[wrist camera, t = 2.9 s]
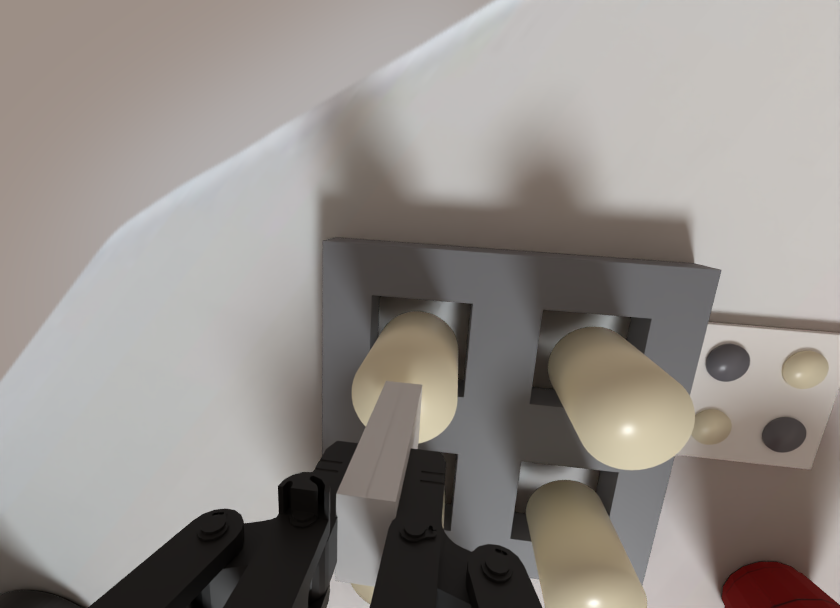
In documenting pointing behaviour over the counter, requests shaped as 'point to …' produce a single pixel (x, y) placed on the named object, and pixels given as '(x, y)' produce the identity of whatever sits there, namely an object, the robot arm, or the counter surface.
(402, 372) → the cream rounded cylinder
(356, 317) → the board
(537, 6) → the counter surface
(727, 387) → the card
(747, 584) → the plastic cup
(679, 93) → the counter surface
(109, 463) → the counter surface
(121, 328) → the counter surface
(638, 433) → the cream domed cylinder
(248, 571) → the robot arm
